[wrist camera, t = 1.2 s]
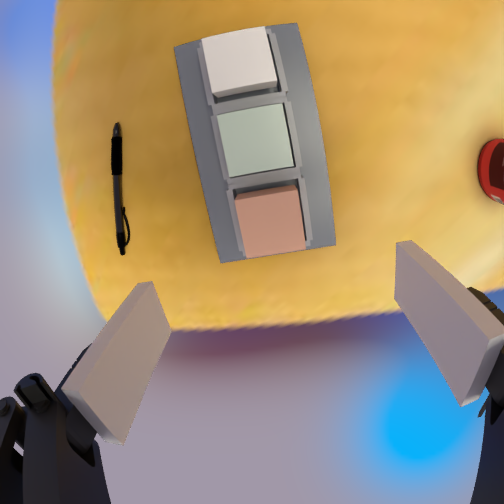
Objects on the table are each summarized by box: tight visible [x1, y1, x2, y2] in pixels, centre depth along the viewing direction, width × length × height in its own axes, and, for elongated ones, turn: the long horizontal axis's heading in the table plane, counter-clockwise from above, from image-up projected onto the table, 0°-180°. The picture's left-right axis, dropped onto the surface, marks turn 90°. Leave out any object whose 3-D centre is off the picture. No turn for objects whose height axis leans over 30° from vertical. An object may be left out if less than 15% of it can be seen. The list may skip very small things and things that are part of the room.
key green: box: [217, 103, 294, 177], centre depth 20 cm, size 4×4×2 cm
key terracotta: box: [234, 185, 306, 258], centre depth 22 cm, size 4×4×2 cm
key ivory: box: [201, 26, 277, 98], centre depth 17 cm, size 4×4×2 cm
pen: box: [111, 123, 130, 255], centre depth 26 cm, size 14×2×1 cm, turn 176°
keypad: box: [174, 23, 336, 263], centre depth 23 cm, size 21×11×4 cm, turn 11°
